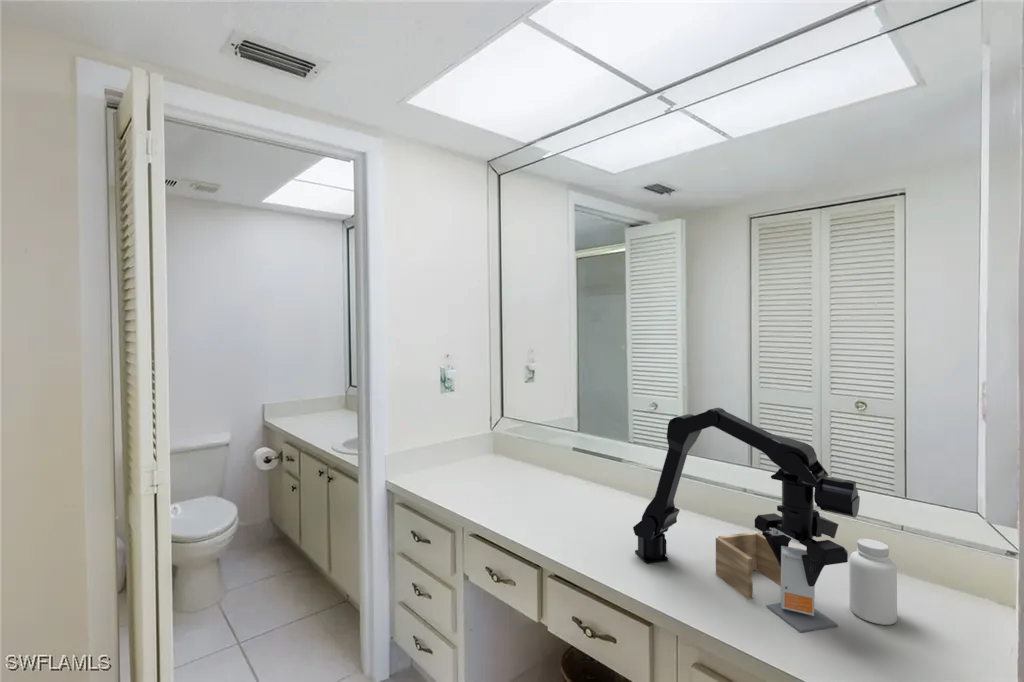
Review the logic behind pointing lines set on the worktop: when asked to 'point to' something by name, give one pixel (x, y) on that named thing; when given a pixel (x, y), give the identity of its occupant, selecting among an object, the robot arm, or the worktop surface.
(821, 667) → the worktop surface
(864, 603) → the pill bottle
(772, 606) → the slate pad
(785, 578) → the skincare box
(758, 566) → the oak bay
